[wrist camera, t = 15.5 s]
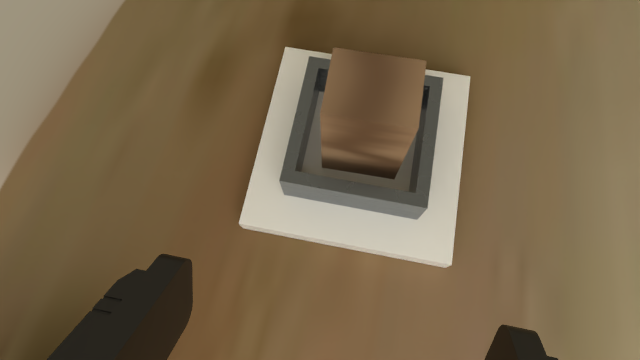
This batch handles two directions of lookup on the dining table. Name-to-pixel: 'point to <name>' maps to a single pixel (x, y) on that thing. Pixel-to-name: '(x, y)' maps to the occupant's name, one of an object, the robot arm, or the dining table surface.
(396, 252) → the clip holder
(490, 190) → the dining table surface
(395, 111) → the walnut block
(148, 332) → the robot arm
